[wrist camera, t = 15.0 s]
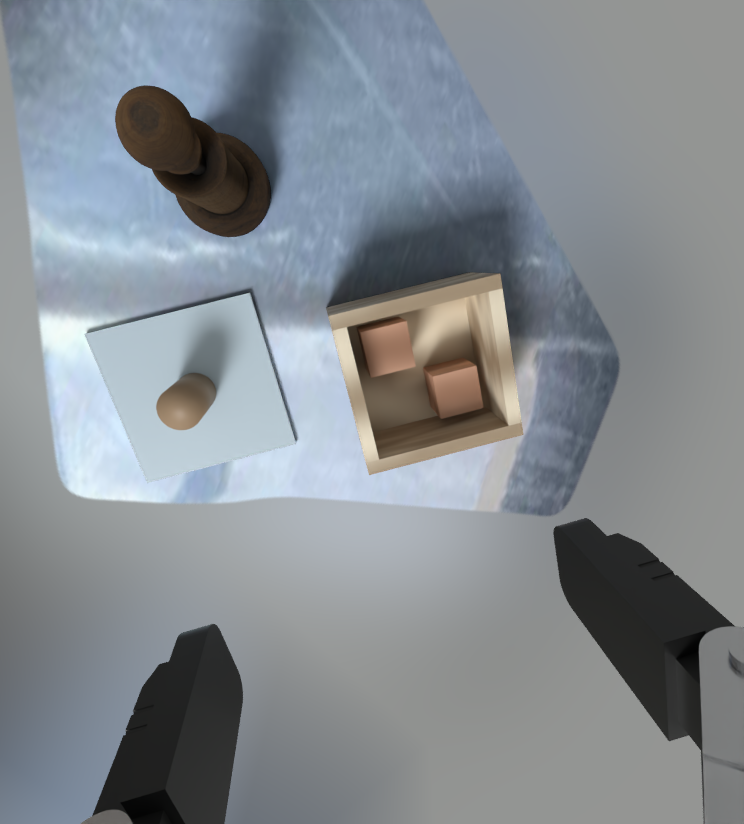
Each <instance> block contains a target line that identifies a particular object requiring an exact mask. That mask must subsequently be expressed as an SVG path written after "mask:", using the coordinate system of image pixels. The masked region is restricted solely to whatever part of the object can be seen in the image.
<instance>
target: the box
mask: <svg viewBox="0 0 744 824" xmlns="http://www.w3.org/2000/svg"><path fill="white" fill-rule="evenodd" d="M326 309H327V313H328V317H329V321H330V324H331V328H332V332H333V336H334V340H335V344H336V348H337V352H338V356H339V360H340V364H341V367H342V371H343V375H344V379H345V383H346V387H347V391H348V395H349V399H350V403H351V407H352V410H353V414H354V418H355V422H356V426H357V430H358V434H359V438H360V442H361V446H362V449H363V453H364V457H365V461H366V465H367V469H368V472H369V475H371V474H375V473H379V472H383V471H387V470H390V469H394V468H398V467H402V466H406V465H409V464H413V463H417V462H421V461H425V460H429V459H432V458H436V457H440V456H444V455H448V454H452V453H455V452H459V451H463V450H467V449H471V448H474V447H478V446H482V445H486V444H490V443H494V442H497V441H501V440H505V439H509V438H513V437H517V436H520V435H523V429H522V422H521V415H520V408H519V401H518V394H517V387H516V380H515V373H514V366H513V359H512V352H511V345H510V338H509V331H508V324H507V317H506V310H505V303H504V296H503V289H502V281H501V274H498V273H472V272H469V273H465V274H461V275H457V276H452V277H448V278H444V279H440V280H436V281H432V282H428V283H424V284H420V285H416V286H412V287H408V288H404V289H400V290H396V291H392V292H387V293H383V294H379V295H375V296H371V297H367V298H363V299H359V300H355V301H351V302H347V303H343V304H339V305H335V306H331V307H327V308H326ZM398 316H399V317H400V318H402V319H404V320H405V321H407V326H408V331H409V336H410V341H411V346H412V351H413V355H414V360H415V365H416V367H412V368H408V369H404V370H400V371H396V372H392V373H388V374H384V375H380V376H377V377H373V378H371V377H370V375H369V373H368V371H367V369H366V365H365V361H364V357H363V353H362V349H361V344H360V340H359V336H358V332H357V328H356V327H358V326H362V325H366V324H370V323H374V322H378V321H382V320H386V319H390V318H394V317H398ZM459 358H465V359H466V360H468V361H470V362H471V363H473V364H475V365H476V366H477V372H478V378H479V384H480V390H481V396H482V402H483V408H481V409H477V410H474V411H470V412H466V413H462V414H458V415H454V416H450V417H446V418H443V419H440V417H439V416H438V415H437V414H436V413H435V411H434V410H433V409H432V408H431V406H430V401H429V396H428V391H427V386H426V381H425V376H424V371H423V367H427V366H431V365H435V364H439V363H443V362H447V361H451V360H455V359H459Z"/></svg>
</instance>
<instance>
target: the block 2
mask: <svg viewBox="0 0 744 824" xmlns="http://www.w3.org/2000/svg"><path fill="white" fill-rule="evenodd" d="M423 371H424V376H425V381H426V386H427V391H428V396H429V401H430V406H431V408H432V409H433V410H434V411H435V413H436V414H437V415H438V416H439V417H440V419H443V418H446V417H450V416H454V415H458V414H462V413H466V412H470V411H474V410H477V409H481V408H483V402H482V396H481V390H480V384H479V378H478V372H477V366H476V365H475V364H473V363H471V362H470V361H468V360H466V359H465V358H459V359H455V360H451V361H447V362H443V363H439V364H435V365H431V366H427V367H423Z"/></svg>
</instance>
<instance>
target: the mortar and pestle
mask: <svg viewBox="0 0 744 824" xmlns="http://www.w3.org/2000/svg"><path fill="white" fill-rule="evenodd" d="M115 122H116V129H117V133H118V136H119V138H120V141H121V143H122V144H123V146H124V148H125V149H126V150H127V152H128V153H129V154H130V155H131V156H132V157H133V158H134V159H135V160H136V161H138V162H139V163H140V164H142V165H144V166H146V167H148V168H151V169H152V171H153V173H154V175H155V176H156V178H157V179H158V180H159V182H160V183H161V184H162V185H163V186H164V187H165V188H166V189H168V190H169V191H171V192H172V193H174V194H175V195H176V198H177V200H178V203H179V205H180V206H181V208H182V210H183V211H184V213H185V214H186V215H187V216H188V218H189V219H190V220H191V221H192V222H194V223H195V224H196V225H197V226H199V227H200V228H202V229H204V230H206V231H208V232H210V233H213V234H216V235H219V236H224V237H237V236H242V235H245V234H247V233H249V232H251V231H252V230H254V229H255V228H256V227H257V226H258V225H259V224H260V223H261V222H262V221H263V219H264V217H265V216H266V214H267V211H268V208H269V205H270V199H271V188H270V182H269V178H268V175H267V173H266V170H265V168H264V166H263V165H262V163H261V161H260V160H259V158H258V157H257V155H256V154H255V153H254V152H253V151H252V150H251V149H250V148H249V147H248V146H247V145H246V144H245V143H243V142H242V141H240V140H239V139H237V138H235V137H233V136H230V135H227V134H223V133H216V132H215V131H214V130H213V129H212V128H211V127H210V126H209V125H207V124H206V123H204V122H202V121H200V120H198V119H196V118H192V117H191V116H190V114H189V112H188V110H187V109H186V107H185V106H184V105H183V103H182V102H181V101H180V100H179V99H178V98H177V97H175V96H174V95H172V94H171V93H169V92H168V91H166V90H164V89H161V88H159V87H155V86H139V87H136V88H133V89H131V90H129V91H128V92H127V93H126V94H125V95H124V96H123V97H122V98H121V100H120V102H119V104H118V106H117V110H116V116H115Z"/></svg>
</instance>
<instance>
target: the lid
mask: <svg viewBox="0 0 744 824" xmlns="http://www.w3.org/2000/svg"><path fill="white" fill-rule="evenodd" d="M85 337H86V339H87V341H88V344H89V346H90V348H91V351H92V353H93V356H94V358H95V360H96V363H97V365H98V367H99V370H100V372H101V375H102V377H103V379H104V382H105V384H106V386H107V389H108V391H109V394H110V396H111V398H112V401H113V403H114V405H115V408H116V410H117V413H118V415H119V417H120V420H121V422H122V424H123V427H124V429H125V432H126V434H127V436H128V439H129V441H130V443H131V446H132V448H133V451H134V453H135V455H136V458H137V460H138V462H139V465H140V467H141V470H142V472H143V474H144V477H145V479H146V481H147V483H149V482H153V481H157V480H160V479H164V478H168V477H172V476H176V475H179V474H183V473H187V472H191V471H195V470H198V469H202V468H206V467H210V466H214V465H217V464H221V463H225V462H229V461H233V460H237V459H240V458H244V457H248V456H252V455H256V454H259V453H263V452H267V451H271V450H275V449H278V448H282V447H286V446H290V445H294V444H296V440H295V437H294V433H293V430H292V427H291V424H290V420H289V417H288V414H287V411H286V407H285V404H284V401H283V398H282V394H281V391H280V388H279V385H278V381H277V378H276V375H275V372H274V368H273V365H272V362H271V359H270V355H269V352H268V349H267V345H266V342H265V339H264V336H263V332H262V329H261V326H260V323H259V319H258V316H257V313H256V310H255V306H254V303H253V300H252V297H251V293H246V294H242V295H238V296H234V297H230V298H226V299H222V300H218V301H214V302H210V303H206V304H202V305H198V306H194V307H190V308H186V309H182V310H178V311H174V312H170V313H166V314H162V315H158V316H154V317H150V318H146V319H142V320H138V321H134V322H130V323H126V324H122V325H118V326H114V327H110V328H106V329H102V330H98V331H94V332H90V333H86V334H85Z"/></svg>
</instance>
